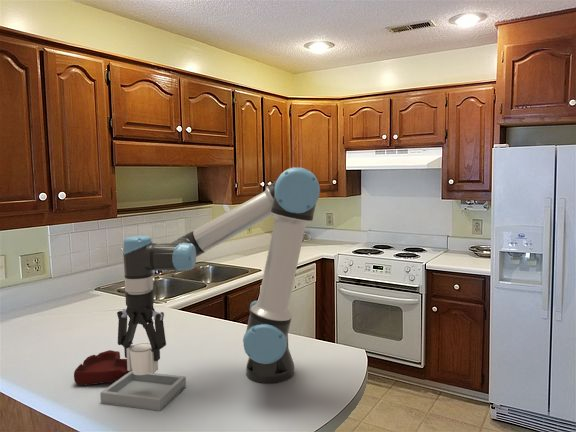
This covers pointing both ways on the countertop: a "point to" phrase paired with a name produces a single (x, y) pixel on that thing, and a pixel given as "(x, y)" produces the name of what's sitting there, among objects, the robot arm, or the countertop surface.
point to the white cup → (140, 358)
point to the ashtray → (101, 368)
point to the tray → (143, 390)
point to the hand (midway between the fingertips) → (142, 370)
